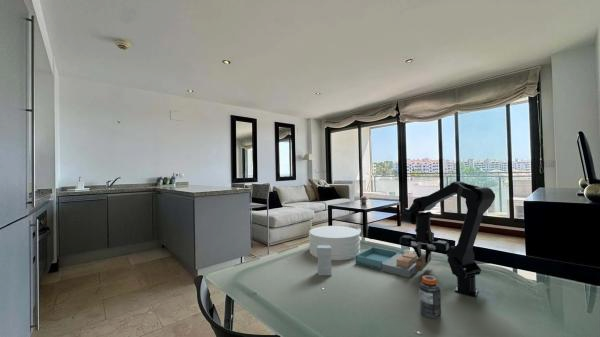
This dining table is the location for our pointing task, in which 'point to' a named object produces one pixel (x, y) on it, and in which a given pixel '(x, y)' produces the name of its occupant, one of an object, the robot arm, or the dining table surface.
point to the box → (374, 257)
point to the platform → (398, 267)
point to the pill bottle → (430, 297)
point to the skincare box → (324, 260)
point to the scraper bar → (422, 262)
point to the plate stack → (336, 241)
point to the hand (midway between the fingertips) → (423, 262)
